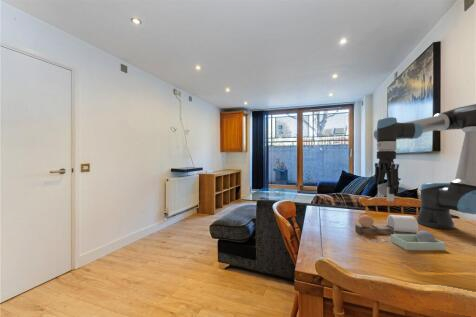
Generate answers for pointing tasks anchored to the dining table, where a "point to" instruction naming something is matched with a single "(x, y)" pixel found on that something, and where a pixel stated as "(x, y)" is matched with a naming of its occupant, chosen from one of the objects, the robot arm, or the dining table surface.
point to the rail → (374, 229)
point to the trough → (416, 243)
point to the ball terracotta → (366, 221)
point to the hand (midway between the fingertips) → (385, 199)
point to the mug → (403, 223)
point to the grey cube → (383, 189)
